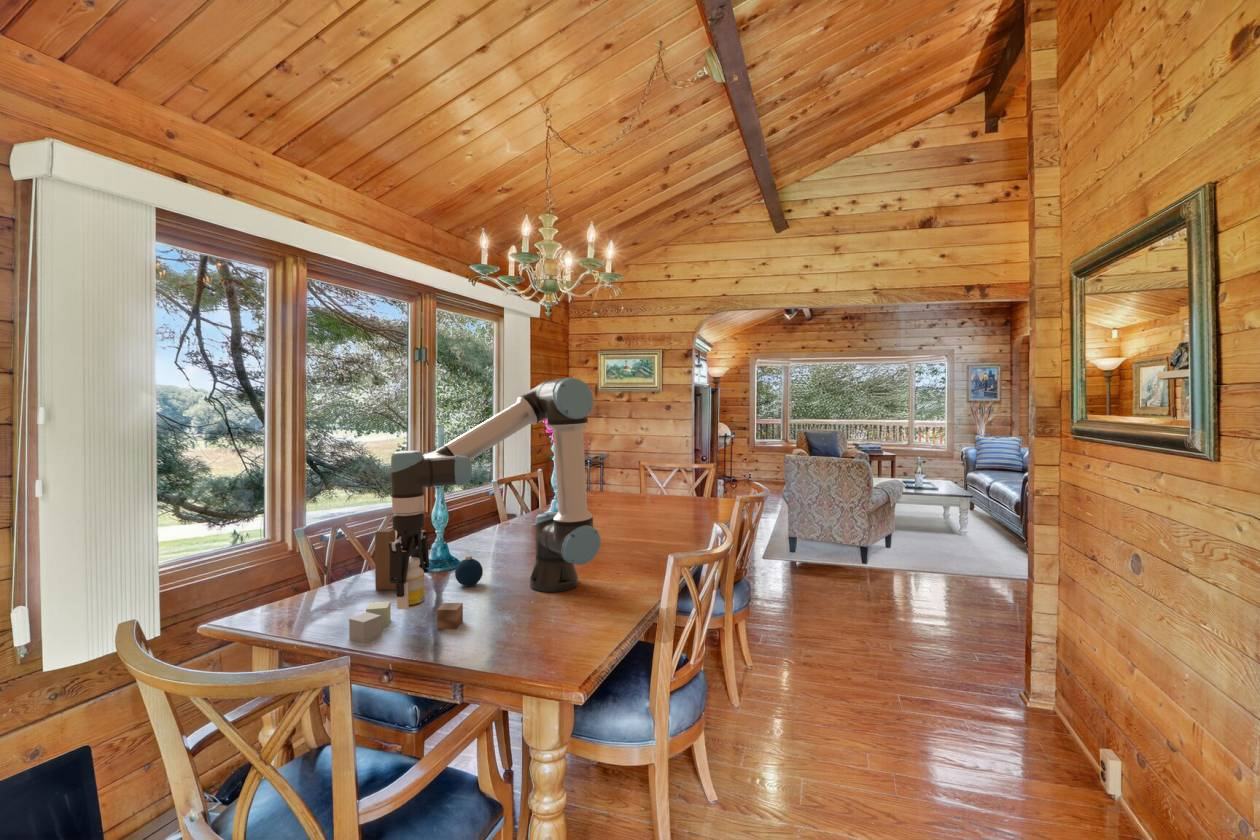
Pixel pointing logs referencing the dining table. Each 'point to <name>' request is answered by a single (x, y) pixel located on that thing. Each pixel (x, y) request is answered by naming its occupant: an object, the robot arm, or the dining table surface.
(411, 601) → the pill bottle
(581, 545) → the robot arm
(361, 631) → the taupe cube
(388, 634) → the dining table surface
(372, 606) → the sage cube
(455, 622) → the walnut cube
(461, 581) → the christmas ornament
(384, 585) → the wooden block
